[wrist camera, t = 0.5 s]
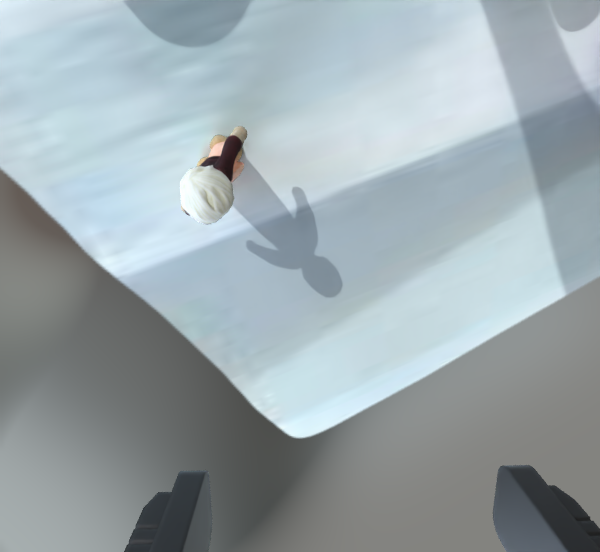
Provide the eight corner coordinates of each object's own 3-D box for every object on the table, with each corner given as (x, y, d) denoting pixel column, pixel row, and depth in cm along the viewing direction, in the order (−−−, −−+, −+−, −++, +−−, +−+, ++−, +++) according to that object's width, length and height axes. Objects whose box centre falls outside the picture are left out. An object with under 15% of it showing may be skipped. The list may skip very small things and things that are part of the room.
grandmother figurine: (226, 204, 37) (213, 270, 26) (185, 186, 36) (153, 247, 25) (262, 124, 34) (264, 160, 23) (218, 101, 33) (199, 128, 22)
